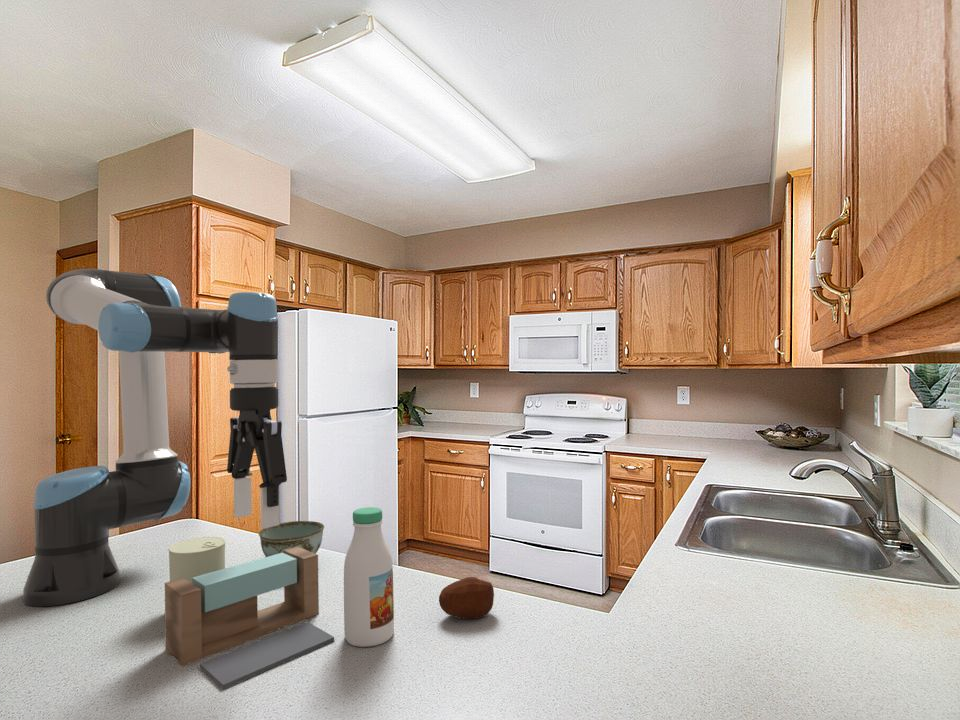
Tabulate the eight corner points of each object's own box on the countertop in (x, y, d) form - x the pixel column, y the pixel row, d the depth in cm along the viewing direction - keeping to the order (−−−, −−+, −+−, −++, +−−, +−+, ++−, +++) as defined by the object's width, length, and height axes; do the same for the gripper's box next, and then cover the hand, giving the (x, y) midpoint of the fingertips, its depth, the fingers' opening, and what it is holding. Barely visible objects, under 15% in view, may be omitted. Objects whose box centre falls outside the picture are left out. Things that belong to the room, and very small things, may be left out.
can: (203, 622, 93) (202, 551, 93) (156, 618, 95) (155, 549, 95) (237, 599, 102) (236, 535, 102) (194, 596, 104) (193, 533, 104)
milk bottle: (351, 653, 82) (349, 519, 82) (339, 631, 89) (337, 507, 89) (400, 640, 85) (398, 512, 86) (385, 620, 92) (383, 501, 92)
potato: (493, 626, 90) (492, 587, 90) (436, 626, 90) (436, 586, 90) (494, 607, 97) (493, 571, 97) (442, 607, 97) (441, 571, 97)
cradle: (165, 649, 84) (164, 582, 84) (298, 602, 100) (297, 546, 100) (182, 666, 79) (181, 595, 79) (318, 613, 95) (317, 554, 96)
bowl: (313, 577, 112) (312, 538, 112) (248, 578, 112) (247, 539, 113) (332, 554, 126) (331, 519, 126) (273, 555, 126) (273, 520, 126)
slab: (192, 603, 86) (192, 577, 86) (282, 575, 97) (282, 552, 97) (205, 612, 83) (204, 585, 83) (296, 582, 94) (296, 558, 94)
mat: (199, 667, 79) (199, 663, 79) (307, 625, 91) (307, 621, 91) (223, 689, 73) (223, 684, 73) (334, 640, 86) (334, 637, 86)
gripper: (204, 386, 96) (206, 514, 96) (263, 387, 81) (265, 539, 81) (247, 384, 102) (248, 506, 101) (308, 385, 87) (311, 527, 87)
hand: (256, 520), depth 91 cm, fingers open, 9 cm apart
